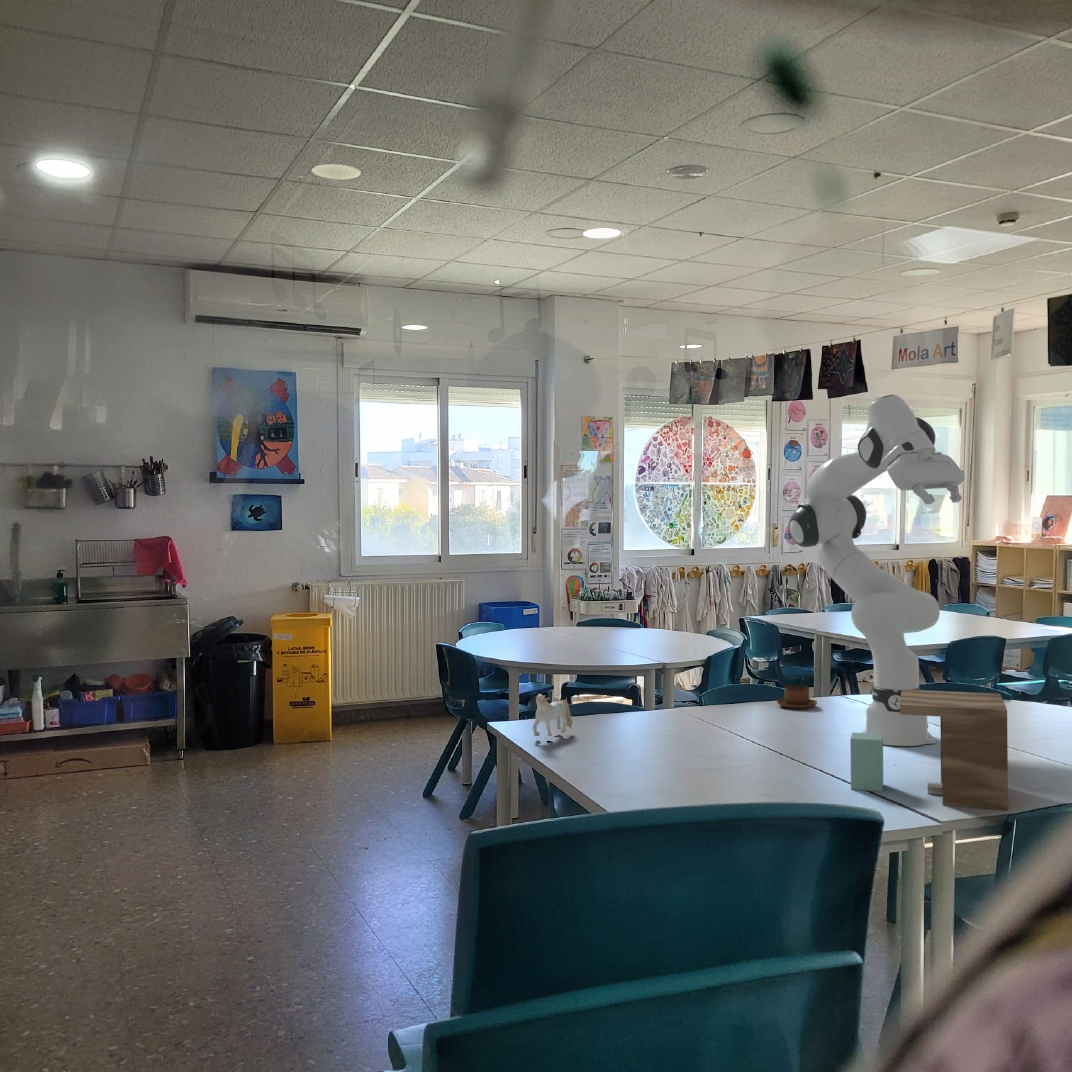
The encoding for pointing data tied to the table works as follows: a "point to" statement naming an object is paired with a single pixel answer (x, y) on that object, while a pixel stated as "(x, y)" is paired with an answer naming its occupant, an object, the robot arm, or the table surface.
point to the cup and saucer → (796, 698)
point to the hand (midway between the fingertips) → (944, 501)
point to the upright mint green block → (867, 761)
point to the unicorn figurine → (552, 714)
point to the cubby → (967, 745)
